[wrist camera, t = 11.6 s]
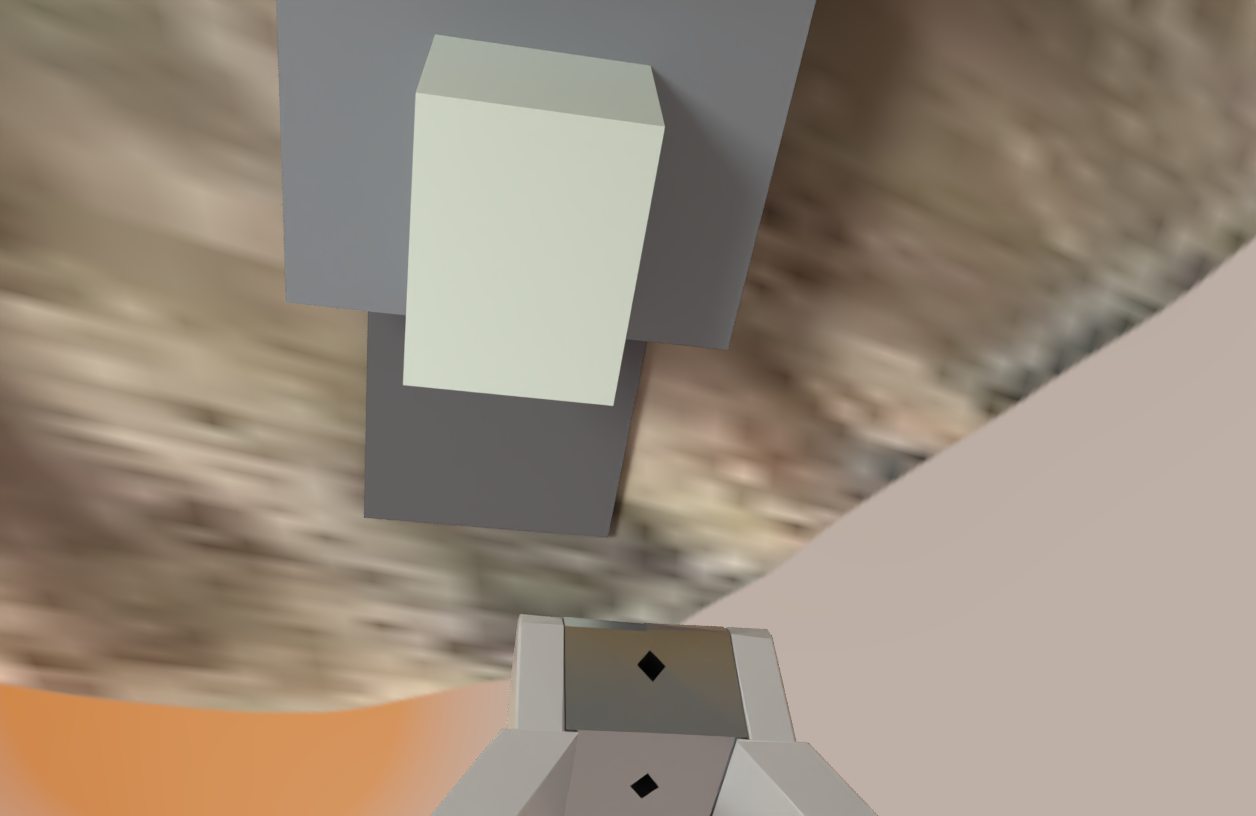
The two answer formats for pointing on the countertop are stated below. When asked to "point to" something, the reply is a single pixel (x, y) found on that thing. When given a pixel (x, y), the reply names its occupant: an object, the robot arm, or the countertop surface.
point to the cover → (527, 219)
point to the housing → (553, 21)
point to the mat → (490, 449)
